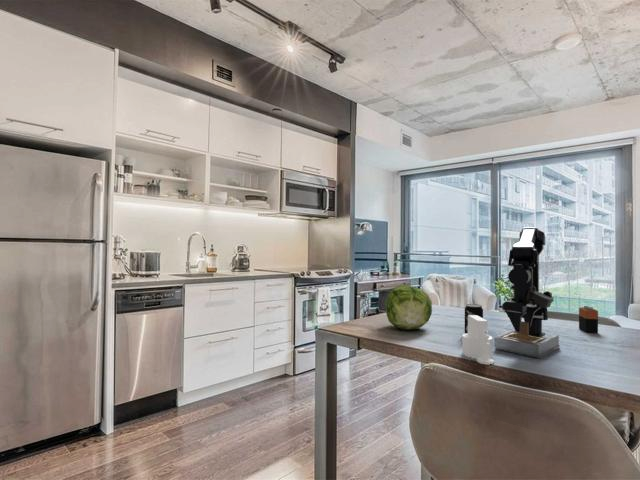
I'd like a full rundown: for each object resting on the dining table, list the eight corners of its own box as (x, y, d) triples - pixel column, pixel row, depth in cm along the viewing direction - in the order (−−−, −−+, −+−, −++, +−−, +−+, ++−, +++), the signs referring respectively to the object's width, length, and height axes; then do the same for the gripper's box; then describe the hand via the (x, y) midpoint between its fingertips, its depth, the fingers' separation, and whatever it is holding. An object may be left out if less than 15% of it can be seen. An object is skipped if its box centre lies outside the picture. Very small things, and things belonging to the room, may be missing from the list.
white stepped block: (458, 350, 126) (458, 315, 126) (485, 351, 126) (485, 315, 126) (468, 359, 117) (468, 320, 117) (497, 359, 117) (497, 321, 117)
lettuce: (386, 336, 146) (394, 292, 144) (380, 316, 169) (387, 277, 167) (436, 344, 146) (444, 299, 143) (423, 322, 169) (430, 284, 166)
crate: (512, 341, 132) (512, 318, 132) (543, 348, 125) (543, 322, 125) (502, 346, 127) (502, 321, 127) (534, 352, 120) (534, 326, 120)
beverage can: (484, 338, 141) (484, 306, 141) (466, 337, 142) (466, 306, 142) (480, 334, 147) (481, 304, 147) (463, 333, 149) (463, 303, 149)
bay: (516, 339, 140) (516, 327, 140) (559, 347, 129) (559, 335, 129) (493, 349, 127) (493, 336, 127) (539, 359, 117) (539, 345, 117)
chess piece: (473, 359, 117) (473, 327, 117) (489, 359, 117) (489, 327, 117) (481, 364, 112) (482, 331, 112) (497, 364, 112) (497, 331, 112)
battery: (586, 332, 150) (586, 307, 150) (578, 329, 157) (578, 305, 157) (598, 333, 149) (598, 308, 149) (590, 329, 156) (590, 305, 156)
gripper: (539, 287, 114) (539, 339, 114) (559, 282, 126) (559, 329, 126) (501, 284, 122) (501, 332, 122) (524, 280, 135) (524, 323, 135)
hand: (523, 329), depth 126 cm, fingers open, 9 cm apart
